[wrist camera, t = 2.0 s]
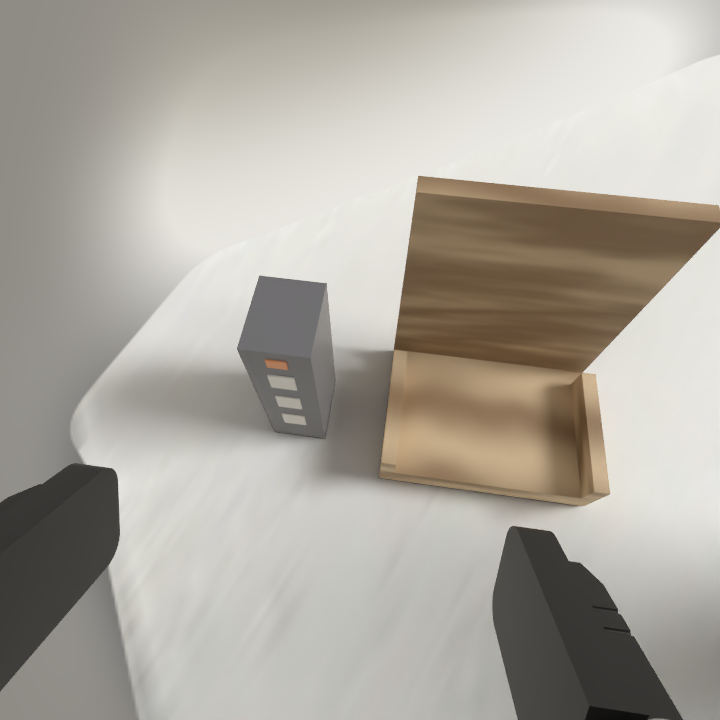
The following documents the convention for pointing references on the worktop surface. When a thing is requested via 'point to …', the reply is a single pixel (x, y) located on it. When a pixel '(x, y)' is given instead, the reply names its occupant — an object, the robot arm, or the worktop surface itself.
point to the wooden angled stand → (520, 331)
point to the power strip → (290, 354)
